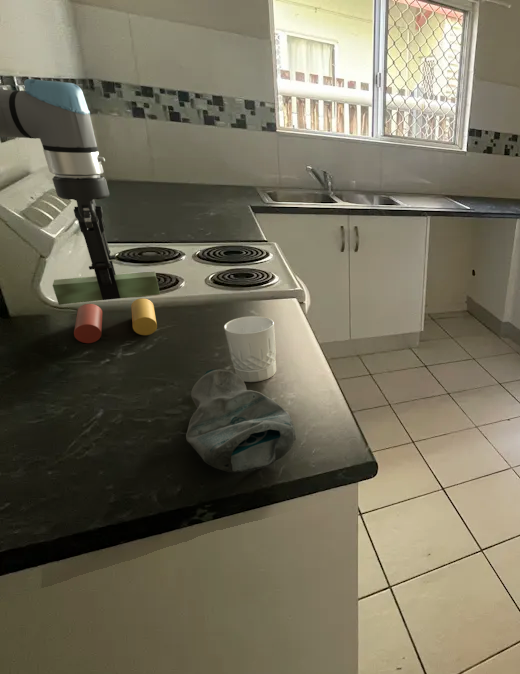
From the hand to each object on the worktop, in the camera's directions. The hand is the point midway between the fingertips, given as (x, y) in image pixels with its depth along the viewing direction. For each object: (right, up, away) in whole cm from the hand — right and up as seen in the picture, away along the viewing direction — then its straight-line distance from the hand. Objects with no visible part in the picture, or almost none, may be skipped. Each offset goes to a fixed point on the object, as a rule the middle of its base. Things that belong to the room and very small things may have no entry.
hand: (111, 295), depth 97 cm
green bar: (0, 0, 0) cm, 0 cm away
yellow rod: (+3, -6, +6) cm, 9 cm away
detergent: (+39, -23, -24) cm, 51 cm away
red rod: (-4, -7, 0) cm, 9 cm away
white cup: (+34, -16, -8) cm, 38 cm away
